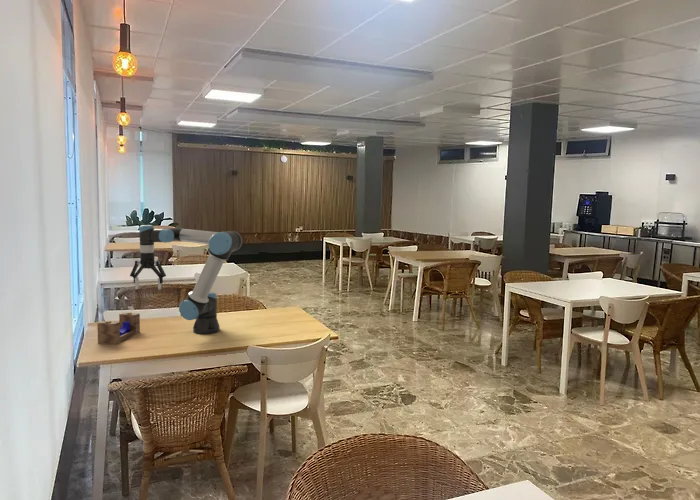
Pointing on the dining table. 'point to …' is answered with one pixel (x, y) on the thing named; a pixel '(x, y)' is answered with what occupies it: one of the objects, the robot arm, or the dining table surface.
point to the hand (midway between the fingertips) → (148, 289)
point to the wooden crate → (118, 328)
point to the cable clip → (125, 328)
